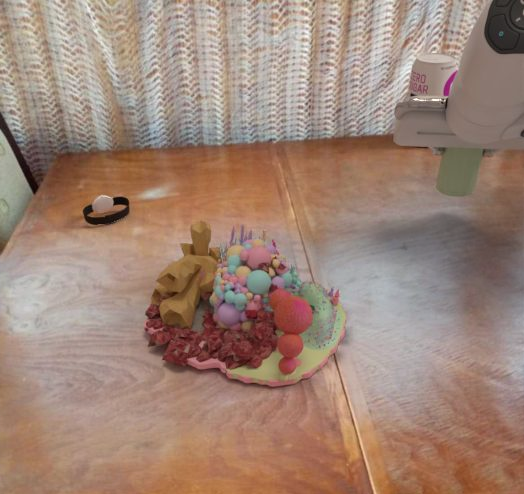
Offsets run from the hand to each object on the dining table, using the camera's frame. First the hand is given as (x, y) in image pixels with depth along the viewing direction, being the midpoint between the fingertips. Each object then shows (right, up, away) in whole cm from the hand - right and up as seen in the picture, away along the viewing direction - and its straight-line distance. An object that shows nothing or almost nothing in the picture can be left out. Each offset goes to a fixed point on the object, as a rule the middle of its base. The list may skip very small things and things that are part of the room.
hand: (462, 151), depth 77 cm
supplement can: (+4, +13, +31) cm, 34 cm away
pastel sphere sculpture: (-31, -24, -9) cm, 40 cm away
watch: (-54, -7, +11) cm, 55 cm away
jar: (0, -4, +3) cm, 5 cm away
